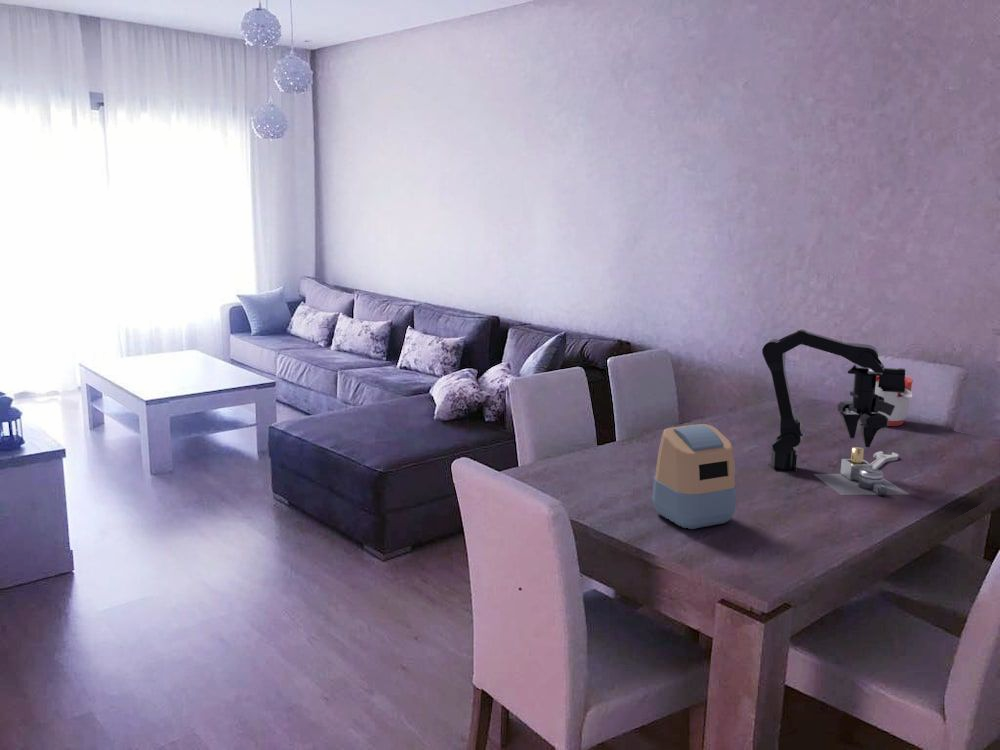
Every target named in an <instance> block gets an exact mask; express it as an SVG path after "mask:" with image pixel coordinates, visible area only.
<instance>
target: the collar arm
mask: <svg viewBox="0 0 1000 750" xmlns="http://www.w3.org/2000/svg"><path fill="white" fill-rule="evenodd" d="M840 463H841V465H840V474H843V475H844V476H846V477H847V478H848V479H850V480H857V481H859V471H860V469H861V468H873V465H872V464H871V463H870V462H868V461H867V460H865V459H864V458H863V464H852V463H851V458H841V462H840ZM872 490H873V491H875V492H876V493H877V494H879V496H888V495H887V488H886V487H884V486H883V485H881V484H873V489H872Z"/></svg>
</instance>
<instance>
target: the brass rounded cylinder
mask: <svg viewBox="0 0 1000 750" xmlns="http://www.w3.org/2000/svg"><path fill="white" fill-rule="evenodd" d="M864 451H865V448H863V447H860V446H852V447H851V455H850V459H851V463H852V464H863V459H864Z"/></svg>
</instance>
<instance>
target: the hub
mask: <svg viewBox="0 0 1000 750" xmlns="http://www.w3.org/2000/svg"><path fill="white" fill-rule="evenodd" d="M883 478H884V472H883V470H880V469H879V468H878V469H873V468H861V469H860V471H859V482H858V487H860V488H862V489H865V490H870V491H873V490H872V489H873V484H881V485H882V480H883Z"/></svg>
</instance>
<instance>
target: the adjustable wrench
mask: <svg viewBox="0 0 1000 750" xmlns="http://www.w3.org/2000/svg"><path fill="white" fill-rule="evenodd" d="M872 457H873V458H874V459H875V460H873V461H872V462H871V463H870V464H872V465H873V469H878V470H879V469H880V468H881V467H882V466H884V464H885V463H887V462H891V461H893V462H894V461H898V459H899V454H898V453H897V452H891V454H884V451H881V450H880V451H877V452H875V453H873V456H872Z"/></svg>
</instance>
